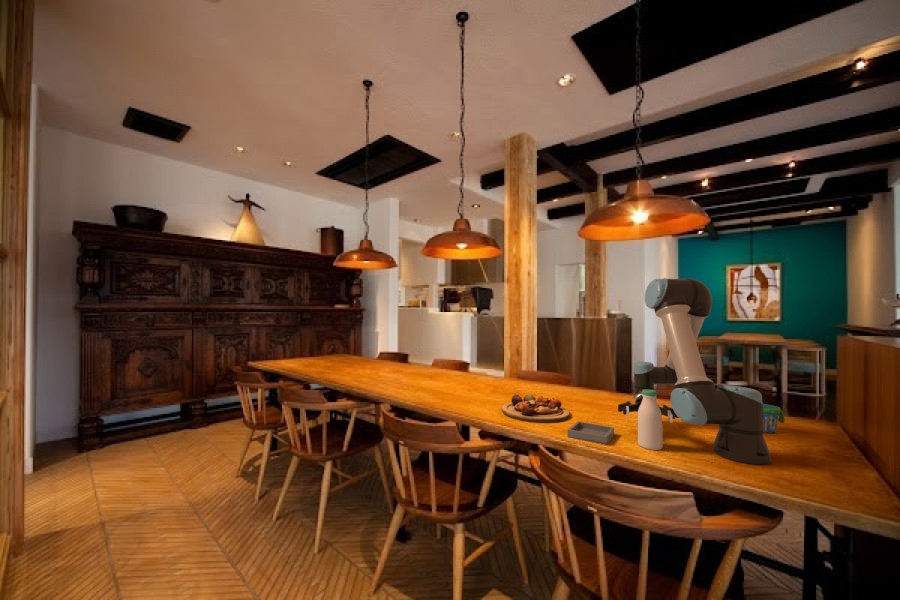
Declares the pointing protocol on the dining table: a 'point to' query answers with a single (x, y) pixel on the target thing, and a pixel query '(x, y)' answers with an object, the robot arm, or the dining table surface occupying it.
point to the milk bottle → (650, 422)
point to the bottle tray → (591, 432)
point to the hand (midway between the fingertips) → (649, 416)
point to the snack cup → (771, 418)
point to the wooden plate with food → (535, 409)
